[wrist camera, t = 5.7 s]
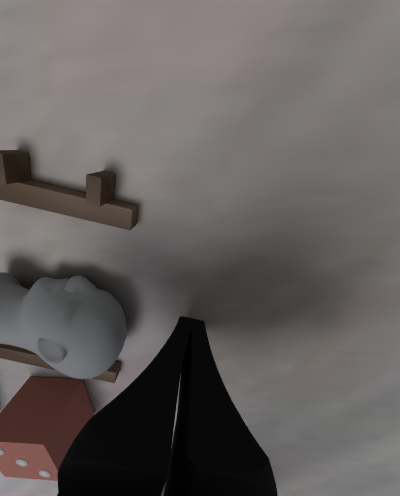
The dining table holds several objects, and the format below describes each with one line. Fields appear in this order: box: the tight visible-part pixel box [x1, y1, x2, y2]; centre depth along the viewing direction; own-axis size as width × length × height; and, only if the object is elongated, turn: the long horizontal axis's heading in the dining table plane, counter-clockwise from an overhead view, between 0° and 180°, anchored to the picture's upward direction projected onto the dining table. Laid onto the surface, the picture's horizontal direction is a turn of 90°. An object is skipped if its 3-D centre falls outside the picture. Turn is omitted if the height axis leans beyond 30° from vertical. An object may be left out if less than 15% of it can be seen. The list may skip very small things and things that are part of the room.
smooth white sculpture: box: [0, 272, 126, 379], centre depth 12 cm, size 4×8×5 cm
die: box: [0, 377, 95, 481], centre depth 16 cm, size 4×4×4 cm
